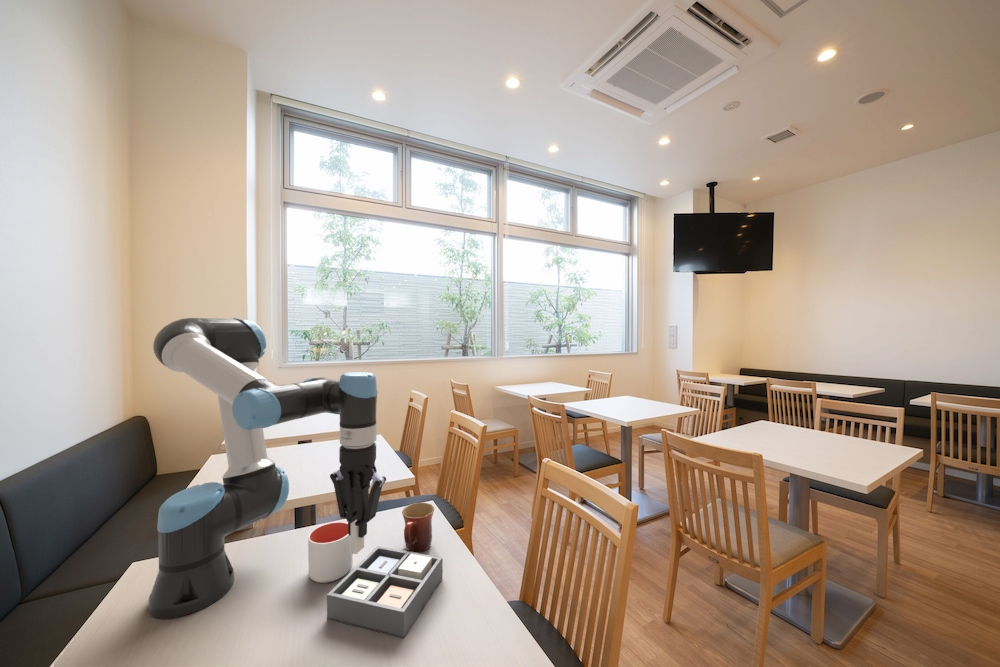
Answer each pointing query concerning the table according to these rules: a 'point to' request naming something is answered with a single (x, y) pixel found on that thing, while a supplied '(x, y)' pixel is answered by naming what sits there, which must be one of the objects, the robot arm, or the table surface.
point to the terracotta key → (396, 596)
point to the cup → (329, 552)
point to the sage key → (361, 589)
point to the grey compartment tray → (375, 613)
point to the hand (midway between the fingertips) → (357, 549)
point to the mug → (418, 526)
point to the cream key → (415, 567)
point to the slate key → (383, 564)
